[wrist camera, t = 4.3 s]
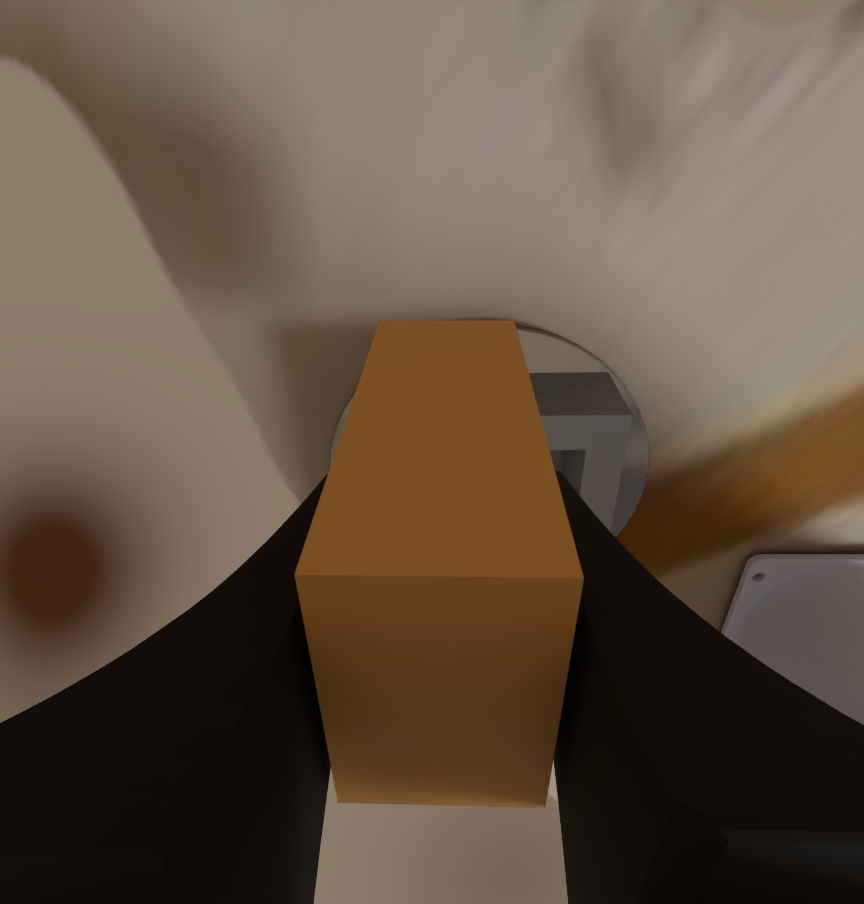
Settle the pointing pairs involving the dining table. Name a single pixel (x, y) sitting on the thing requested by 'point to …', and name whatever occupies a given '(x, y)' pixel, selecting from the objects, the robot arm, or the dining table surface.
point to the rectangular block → (441, 576)
